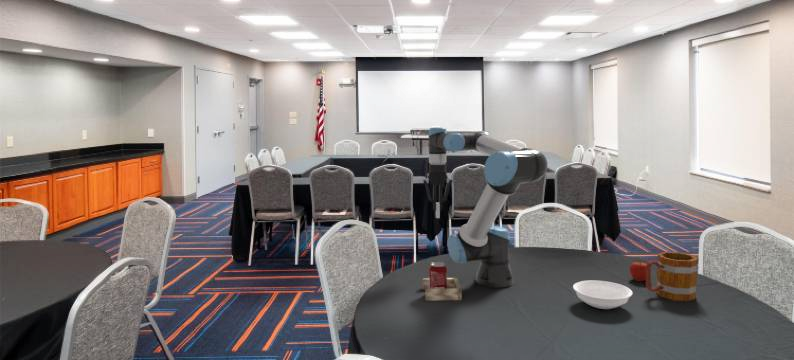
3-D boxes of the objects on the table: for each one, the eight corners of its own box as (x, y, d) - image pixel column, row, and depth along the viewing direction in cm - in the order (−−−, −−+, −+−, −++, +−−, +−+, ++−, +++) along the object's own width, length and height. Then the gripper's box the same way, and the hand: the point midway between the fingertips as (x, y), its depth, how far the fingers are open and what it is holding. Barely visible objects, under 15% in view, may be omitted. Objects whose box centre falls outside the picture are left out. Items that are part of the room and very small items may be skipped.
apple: (651, 284, 206) (652, 265, 205) (630, 282, 208) (631, 263, 207) (648, 278, 213) (649, 260, 212) (628, 276, 215) (629, 258, 214)
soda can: (446, 297, 193) (446, 266, 192) (428, 296, 194) (428, 266, 193) (447, 291, 200) (447, 261, 198) (430, 290, 201) (430, 261, 199)
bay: (456, 287, 204) (456, 277, 204) (461, 299, 190) (461, 289, 190) (423, 288, 204) (422, 278, 204) (425, 300, 190) (425, 290, 190)
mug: (678, 287, 201) (680, 250, 199) (704, 299, 188) (707, 260, 186) (633, 291, 197) (635, 253, 196) (657, 303, 184) (659, 263, 182)
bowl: (634, 320, 170) (635, 301, 169) (571, 312, 177) (572, 295, 176) (629, 299, 189) (630, 283, 188) (572, 293, 196) (573, 277, 195)
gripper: (451, 162, 223) (451, 215, 226) (421, 162, 223) (422, 216, 226) (453, 164, 215) (453, 219, 218) (423, 164, 215) (423, 219, 218)
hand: (437, 217), depth 222 cm, fingers closed
